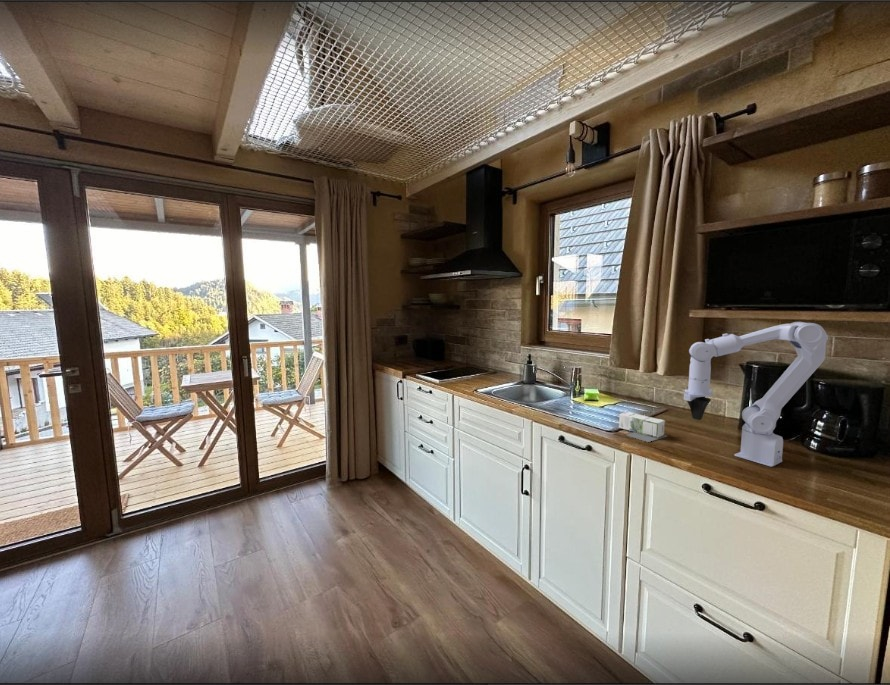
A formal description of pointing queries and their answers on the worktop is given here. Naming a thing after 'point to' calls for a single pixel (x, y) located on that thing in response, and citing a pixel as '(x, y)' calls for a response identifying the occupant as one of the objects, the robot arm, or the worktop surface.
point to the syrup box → (641, 424)
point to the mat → (644, 437)
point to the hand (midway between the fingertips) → (696, 419)
